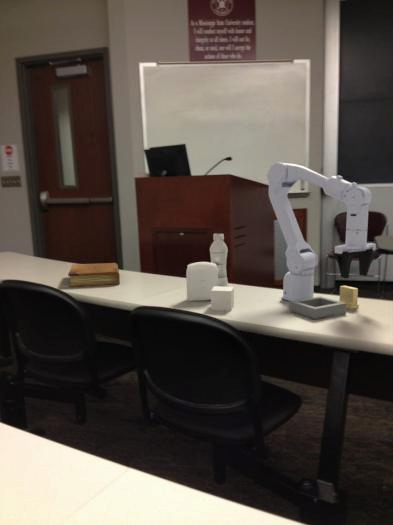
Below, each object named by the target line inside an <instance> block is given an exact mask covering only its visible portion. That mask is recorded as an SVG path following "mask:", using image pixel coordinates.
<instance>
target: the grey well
mask: <svg viewBox="0 0 393 525" xmlns="http://www.w3.org/2000/svg"><path fill="white" fill-rule="evenodd" d="M289 312H290V313H293V314H296V315H299V316H302V317H305V318H308V319H311V320H314V321H315V320H321V319H325V318H326V319H327V318H331V317H335V316H342V315H345V314H347V308H346V303H344V302H340V301H339V300H336V299H332V298H328V297H325V296H320V295H319V296H313V298H307V299H301V300H296V301H289Z"/></svg>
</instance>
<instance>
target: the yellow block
mask: <svg viewBox="0 0 393 525" xmlns="http://www.w3.org/2000/svg"><path fill="white" fill-rule="evenodd" d="M358 295H359V288H357V287H353V286H348V285H341V286H339V300H338V301H340V302H344V303H346V310H347V309H348V310H355V309H359V308H360V304H358V299H359V298H358Z"/></svg>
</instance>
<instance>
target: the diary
mask: <svg viewBox="0 0 393 525" xmlns="http://www.w3.org/2000/svg"><path fill="white" fill-rule="evenodd" d="M67 275H68V276H67V277H69V278H70V280H69V281H70V283H69V285H68V288H85V286H90V287H99V286H98V285H110V286H119V285H121V284H120V277H121V276H120V271H119V265H118V264H117V263H116V262H106V263H103V262H102V263H81V264H80V263H79V264H77V263H76V264H72V265H71V267H70V270H69V272H68V273H67Z"/></svg>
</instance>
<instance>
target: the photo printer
mask: <svg viewBox="0 0 393 525" xmlns="http://www.w3.org/2000/svg"><path fill="white" fill-rule="evenodd" d="M186 267H187V268H186V272H185V273H186V274H185V278H186V300H187V301H189V302H194V301H195V302H196V301H197V302H199V301H211V290H212V289H213V287H214V286H218V269H217V266H216V264H214V263H211V261H210V262H209V261H198V262H191V263H189V264H187V266H186Z"/></svg>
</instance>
